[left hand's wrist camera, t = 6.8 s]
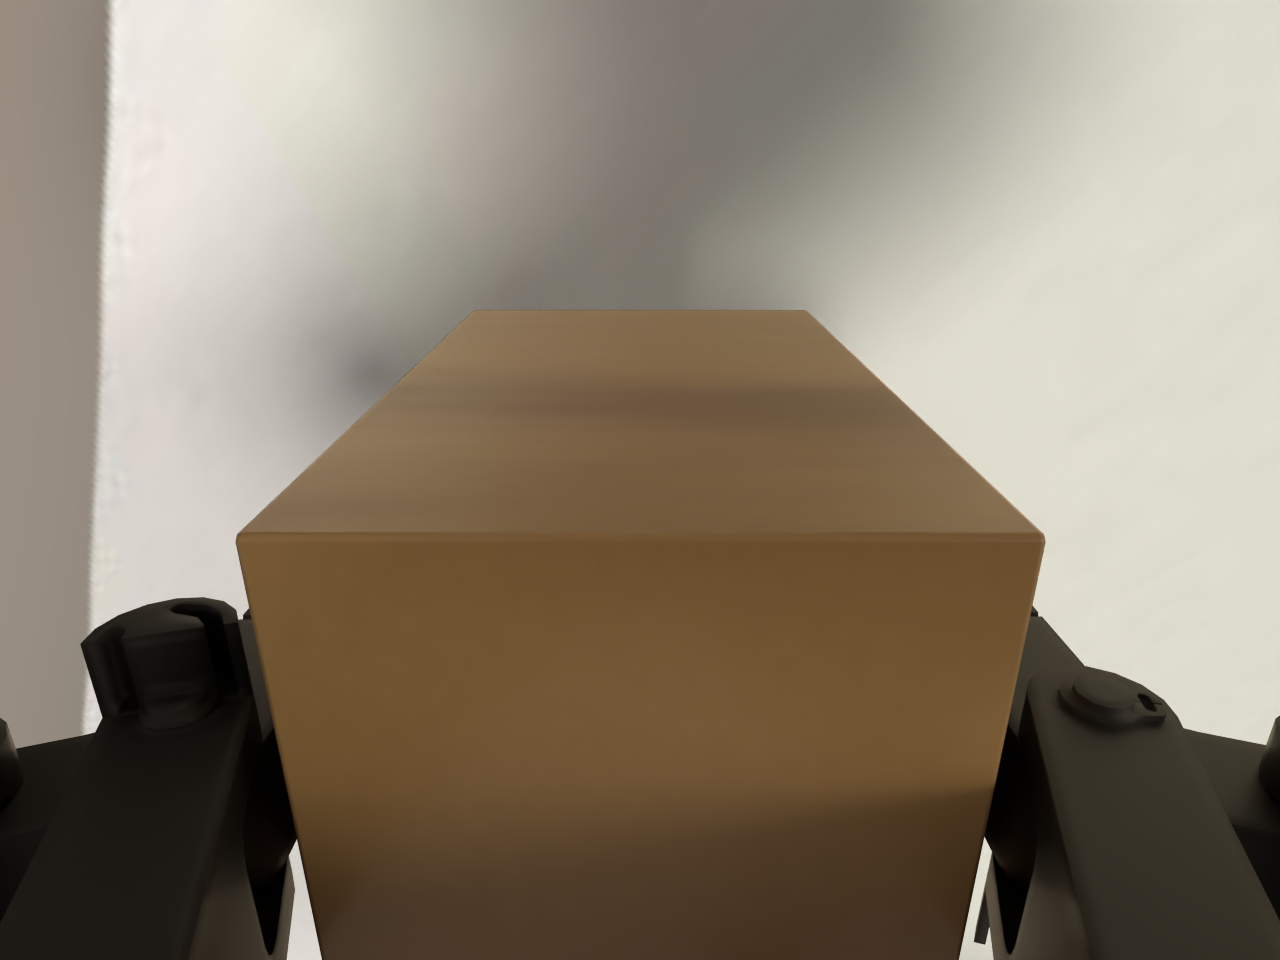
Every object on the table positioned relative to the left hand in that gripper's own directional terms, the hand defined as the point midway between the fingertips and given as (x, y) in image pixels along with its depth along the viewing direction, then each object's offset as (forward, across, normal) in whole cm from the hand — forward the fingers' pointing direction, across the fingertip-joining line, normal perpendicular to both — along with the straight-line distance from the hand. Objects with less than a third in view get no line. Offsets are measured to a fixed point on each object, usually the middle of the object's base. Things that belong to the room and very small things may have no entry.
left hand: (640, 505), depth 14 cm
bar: (+1, 0, -8) cm, 8 cm away
